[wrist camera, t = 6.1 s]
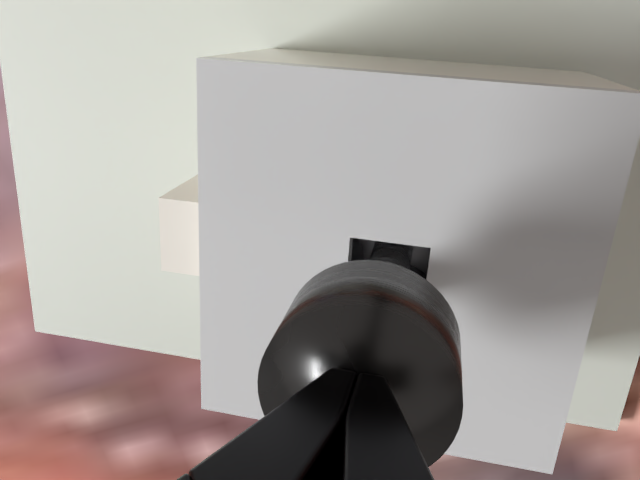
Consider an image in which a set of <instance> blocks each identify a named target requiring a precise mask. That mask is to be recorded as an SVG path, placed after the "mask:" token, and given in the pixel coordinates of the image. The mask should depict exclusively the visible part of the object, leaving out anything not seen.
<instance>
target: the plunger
mask: <svg viewBox="0 0 640 480" xmlns="http://www.w3.org/2000/svg"><path fill="white" fill-rule="evenodd" d="M429 254H430V248H427V247H419V246H412V245H404V244H396V243H388V242H381V241H373V240H365V239H357V238H353V244H352V256H351V261H349V262H344V263H340V264H337V265H334V266H332V267H329V268H327V269H325V270H323V271H321V272H320V273H318V274H317V275H315V276H314V277H313V278H311V279H310V280H309V281H308V282H307V283H306V284H305V285H304V286H303V287H302V288H301V290H300V291H299V292H298V294H297V295H296V297H295V299H294V300H293V302H292V304H291V306H290V307H289V309H288V311H287V313H286V314H285V316H284V318H283V320H282V322H281V323H280V325H279V327H278V329H277V331H276V332H275V334H274V336H273V338H272V339H271V341H270V343H269V345H268V347H267V348H266V350H265V353H264V355H263V357H262V359H261V363H260V367H259V371H258V381H257V384H258V396H259V401H260V405H261V408H262V411H263V414H264V416H265V415H267V414H268V413H270V412H271V411H272V410H274V409H275V408H277V407H278V406H279V405H281V404H282V403H283V402H285V401H286V400H288V399H289V398H290V397H292V396H293V395H294V394H296V393H297V392H299V391H300V390H301V389H303V388H304V387H305V386H307V385H308V384H310V383H311V382H312V381H314V380H315V379H316V378H318V377H319V376H321V375H322V374H323V373H325V372H326V371H327V370H329V369H331V368H338V369H344V370H350V371H354V372H355V373H356V374H357V376H358V375H359V374H360V373H368V374H374V375H380V376H383V377H385V378H386V380H387V382H388V384H389V386H390V388H391V390H392V393H393V395H394V397H395V399H396V401H397V403H398V405H399V407H400V409H401V411H402V413H403V416H404V418H405V420H406V422H407V424H408V426H409V428H410V430H411V432H412V434H413V436H414V438H415V441H416V443H417V445H418V447H419V449H420V451H421V453H422V455H423V457H424V459H425V461H426V464H427V466H428V467H429V466H431V465H432V464H433V463H434V462H436V461H437V460H438V459H439V458H440V457H441V456H442V455H443V454H444V453H445V452H446V451H447V450H448V448H449V447H450V445H451V444H452V442H453V441H454V439H455V437H456V435H457V433H458V430H459V428H460V424H461V420H462V414H463V387H462V363H461V340H460V331H459V327H458V323H457V320H456V317H455V315H454V313H453V311H452V309H451V307H450V305H449V303H448V302H447V301H446V299H445V298H444V297H443V295H442V294H441V293H440V292H439V291H438V290H437V289H436V288H435V287H434V286H433V285H432V284H431V283H430V282H428V281H427V280H426V275H427V268H428V261H429Z"/></svg>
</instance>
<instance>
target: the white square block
mask: <svg viewBox="0 0 640 480" xmlns="http://www.w3.org/2000/svg"><path fill="white" fill-rule="evenodd" d="M196 73H197V142H198V174H197V175H196V176H194V177H192V178H191V179H189V180H187V181H186V182H184V183H182V184H181V185H179V186H177V187H176V188H174V189H172V190H171V191H169V192H167V193H166V194H164V195H162V196H161V197H159V198H158V199H159V224H160V249H161V271H167V272H174V273H181V274H188V275H195V276H199V280H200V349H201V409H206V410H211V411H216V412H222V413H227V414H232V415H238V416H243V417H248V418H254V419H259V420H260V419H261V418H263V417H264V414H263V411H262V408H261V405H260V401H259V396H258V384H257V381H258V371H259V367H260V363H261V359H262V357H263V355H264V353H265V350H266V348H267V347H268V345H269V343H270V341H271V339H272V338H273V336H274V334H275V332H276V331H277V329H278V327H279V325H280V323H281V322H282V320H283V318H284V316H285V314H286V313H287V311H288V309H289V307H290V306H291V304H292V302H293V300H294V299H295V297H296V295H297V294H298V292H299V291H300V290H301V288H302V287H303V286H304V285H305V284H306V283H307V282H308V281H309V280H310V279H311V278H313V277H314V276H315V275H317V274H318V273H320V272H321V271H323V270H325V269H327V268H329V267H332V266H334V265H337V264H340V263H344V262H349V261H351V256H352V244H353V238H357V239H365V240H373V241H381V242H388V243H396V244H404V245H412V246H419V247H427V248H430V254H429V261H428V268H427V275H426V280H427V281H428V282H430V283H431V284H432V285H433V286H434V287H435V288H436V289H437V290H438V291H439V292H440V293H441V294H442V295H443V297H444V298H445V299H446V301H447V302H448V303H449V305H450V307H451V309H452V311H453V313H454V315H455V317H456V320H457V323H458V327H459V331H460V340H461V363H462V387H463V414H462V420H461V424H460V428H459V430H458V433H457V435H456V437H455V439H454V441H453V442H452V444H451V445H450V447H449V448H448V450H447V451H446V452H445V453H444V454H446V455H452V456H457V457H463V458H468V459H473V460H479V461H484V462H489V463H495V464H500V465H505V466H511V467H516V468H521V469H527V470H532V471H537V472H543V473H548V474H553V470H554V466H555V462H556V458H557V454H558V450H559V447H560V443H561V439H562V435H563V431H564V427H565V423H566V419H567V416H568V412H569V408H570V404H571V400H572V396H573V392H574V388H575V385H576V381H577V377H578V373H579V369H580V365H581V361H582V357H583V353H584V350H585V346H586V342H587V338H588V334H589V330H590V326H591V322H592V319H593V315H594V311H595V307H596V303H597V299H598V295H599V291H600V288H601V284H602V280H603V276H604V272H605V268H606V264H607V260H608V257H609V253H610V249H611V245H612V241H613V237H614V233H615V229H616V226H617V222H618V218H619V214H620V210H621V206H622V202H623V198H624V195H625V191H626V187H627V183H628V179H629V175H630V171H631V167H632V163H633V160H634V156H635V152H636V148H637V144H638V140H639V136H640V91H639V90H636V89H633V88H630V87H627V86H625V85H622V84H619V83H616V82H613V81H610V80H607V79H604V78H601V77H598V76H595V75H592V74H589V73H586V72H583V71H569V70H556V69H543V68H530V67H516V66H503V65H490V64H477V63H463V62H450V61H437V60H423V59H410V58H397V57H384V56H370V55H357V54H344V53H331V52H317V51H304V50H291V49H278V48H269V49H261V50H253V51H246V52H238V53H230V54H222V55H215V56H207V57H199V58H196Z"/></svg>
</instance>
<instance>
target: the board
mask: <svg viewBox="0 0 640 480" xmlns="http://www.w3.org/2000/svg"><path fill="white" fill-rule="evenodd" d="M269 48H278V49H291V50H304V51H317V52H331V53H344V54H357V55H370V56H384V57H397V58H410V59H423V60H437V61H450V62H463V63H477V64H490V65H503V66H516V67H530V68H543V69H556V70H569V71H583V72H586V73H589V74H592V75H595V76H598V77H601V78H604V79H607V80H610V81H613V82H616V83H619V84H622V85H625V86H627V87H630V88H633V89H636V90H639V91H640V0H0V64H1V72H2V80H3V87H4V95H5V103H6V110H7V118H8V126H9V133H10V141H11V149H12V156H13V164H14V172H15V180H16V187H17V195H18V203H19V210H20V218H21V226H22V233H23V241H24V249H25V256H26V264H27V272H28V279H29V287H30V295H31V303H32V310H33V318H34V326H35V331H37V332H43V333H48V334H54V335H60V336H66V337H72V338H77V339H83V340H89V341H95V342H101V343H107V344H112V345H118V346H124V347H130V348H136V349H141V350H147V351H153V352H159V353H165V354H171V355H176V356H182V357H188V358H194V359H200V360H201V349H200V280H199V276H195V275H188V274H181V273H174V272H167V271H161V249H160V224H159V199H158V198H159V197H161V196H162V195H164V194H166V193H167V192H169V191H171V190H172V189H174V188H176V187H177V186H179V185H181V184H182V183H184V182H186V181H187V180H189V179H191V178H192V177H194V176H196V175H197V174H198V142H197V73H196V58H199V57H207V56H215V55H222V54H230V53H238V52H246V51H253V50H261V49H269ZM639 356H640V136H639V140H638V144H637V148H636V152H635V156H634V160H633V163H632V167H631V171H630V175H629V179H628V183H627V187H626V191H625V195H624V198H623V202H622V206H621V210H620V214H619V218H618V222H617V226H616V229H615V233H614V237H613V241H612V245H611V249H610V253H609V257H608V260H607V264H606V268H605V272H604V276H603V280H602V284H601V288H600V291H599V295H598V299H597V303H596V307H595V311H594V315H593V319H592V322H591V326H590V330H589V334H588V338H587V342H586V346H585V350H584V353H583V357H582V361H581V365H580V369H579V373H578V377H577V381H576V385H575V388H574V392H573V396H572V400H571V404H570V408H569V412H568V416H567V419H566V423H572V424H578V425H583V426H589V427H595V428H601V429H607V430H612V431H617V429H618V426H619V423H620V419H621V416H622V413H623V409H624V406H625V403H626V399H627V396H628V393H629V389H630V386H631V383H632V379H633V376H634V372H635V369H636V366H637V362H638V359H639Z"/></svg>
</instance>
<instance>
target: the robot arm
mask: <svg viewBox="0 0 640 480" xmlns="http://www.w3.org/2000/svg"><path fill="white" fill-rule="evenodd" d="M177 480H434V478H433V476H432V474H431V472H430V470H429V468H428V466H427V464H426V461H425V459H424V457H423V455H422V453H421V451H420V449H419V447H418V445H417V443H416V441H415V438H414V436H413V434H412V432H411V430H410V428H409V426H408V424H407V422H406V420H405V418H404V416H403V413H402V411H401V409H400V407H399V405H398V403H397V401H396V399H395V397H394V395H393V393H392V390H391V388H390V386H389V384H388V382H387V380H386V378H385V377H383V376H380V375H374V374H368V373H360V374H359V375H358V376H357V374H356V373H355V372H354V371H350V370H344V369H338V368H331V369H329V370H327V371H326V372H325V373H323V374H322V375H321V376H319V377H318V378H316V379H315V380H314V381H312V382H311V383H310V384H308V385H307V386H305V387H304V388H303V389H301V390H300V391H299V392H297V393H296V394H294V395H293V396H292V397H290V398H289V399H288V400H286V401H285V402H283V403H282V404H281V405H279V406H278V407H277V408H275V409H274V410H272V411H271V412H270V413H268V414H267V415H265V416H264V417H263V418H261V419H260V420H259V421H257V422H256V423H254V424H253V425H252V426H250V427H249V428H248V429H246V430H245V431H243V432H242V433H241V434H239V435H238V436H237V437H235V438H234V439H232V440H231V441H230V442H228V443H227V444H226V445H224V446H223V447H221V448H220V449H219V450H217V451H216V452H215V453H213V454H212V455H210V456H209V457H208V458H206V459H205V460H203V461H202V462H201V463H199V464H198V465H197V466H195V467H194V468H192V469H191V470H190V471H189V474H184V475H182V476H181V477H180V478H178V479H177Z"/></svg>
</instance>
